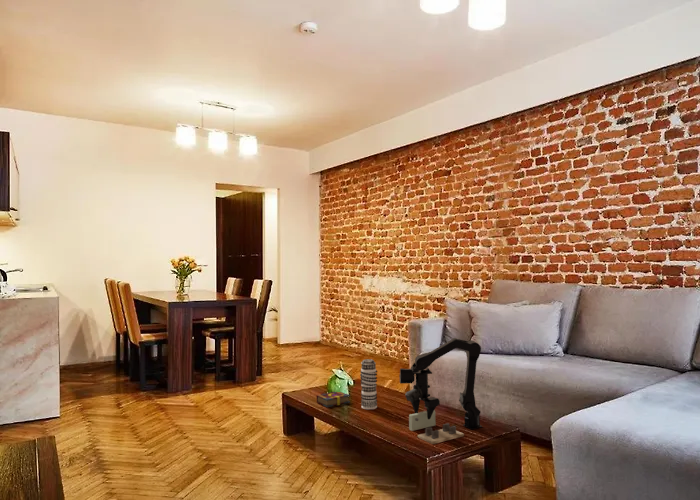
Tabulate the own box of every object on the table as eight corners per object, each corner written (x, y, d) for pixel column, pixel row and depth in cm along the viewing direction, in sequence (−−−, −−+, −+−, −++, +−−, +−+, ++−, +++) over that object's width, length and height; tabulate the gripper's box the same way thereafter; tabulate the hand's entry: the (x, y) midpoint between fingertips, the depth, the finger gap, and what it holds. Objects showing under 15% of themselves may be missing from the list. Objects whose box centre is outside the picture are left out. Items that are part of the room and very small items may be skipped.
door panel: (432, 424, 240) (432, 409, 240) (436, 426, 237) (436, 411, 237) (409, 429, 232) (408, 414, 233) (413, 431, 230) (413, 416, 230)
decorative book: (316, 403, 279) (316, 394, 279) (340, 398, 288) (340, 389, 288) (326, 408, 269) (326, 398, 270) (351, 402, 279) (351, 393, 279)
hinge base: (448, 429, 232) (448, 420, 232) (463, 436, 223) (463, 426, 223) (417, 437, 222) (417, 428, 222) (432, 444, 214) (432, 434, 214)
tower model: (378, 409, 264) (377, 361, 265) (360, 409, 264) (359, 361, 265) (377, 404, 273) (376, 358, 274) (360, 404, 274) (359, 358, 274)
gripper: (396, 381, 239) (396, 414, 239) (420, 389, 223) (421, 425, 223) (414, 378, 245) (415, 410, 245) (440, 386, 229) (440, 420, 229)
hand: (422, 416), depth 235 cm, fingers open, 9 cm apart
